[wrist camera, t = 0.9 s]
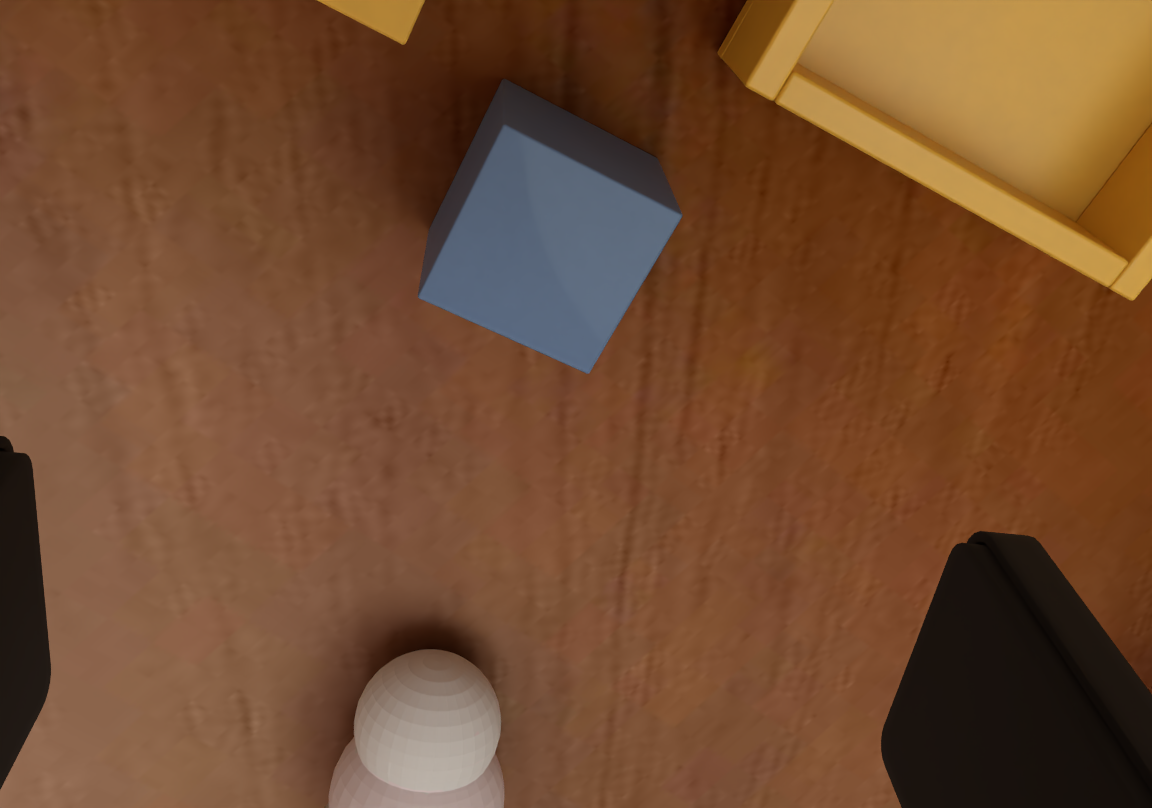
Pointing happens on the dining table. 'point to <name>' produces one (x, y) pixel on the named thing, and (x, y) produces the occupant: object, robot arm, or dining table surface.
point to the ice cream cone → (423, 738)
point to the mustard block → (381, 15)
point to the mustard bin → (982, 108)
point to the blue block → (547, 229)
